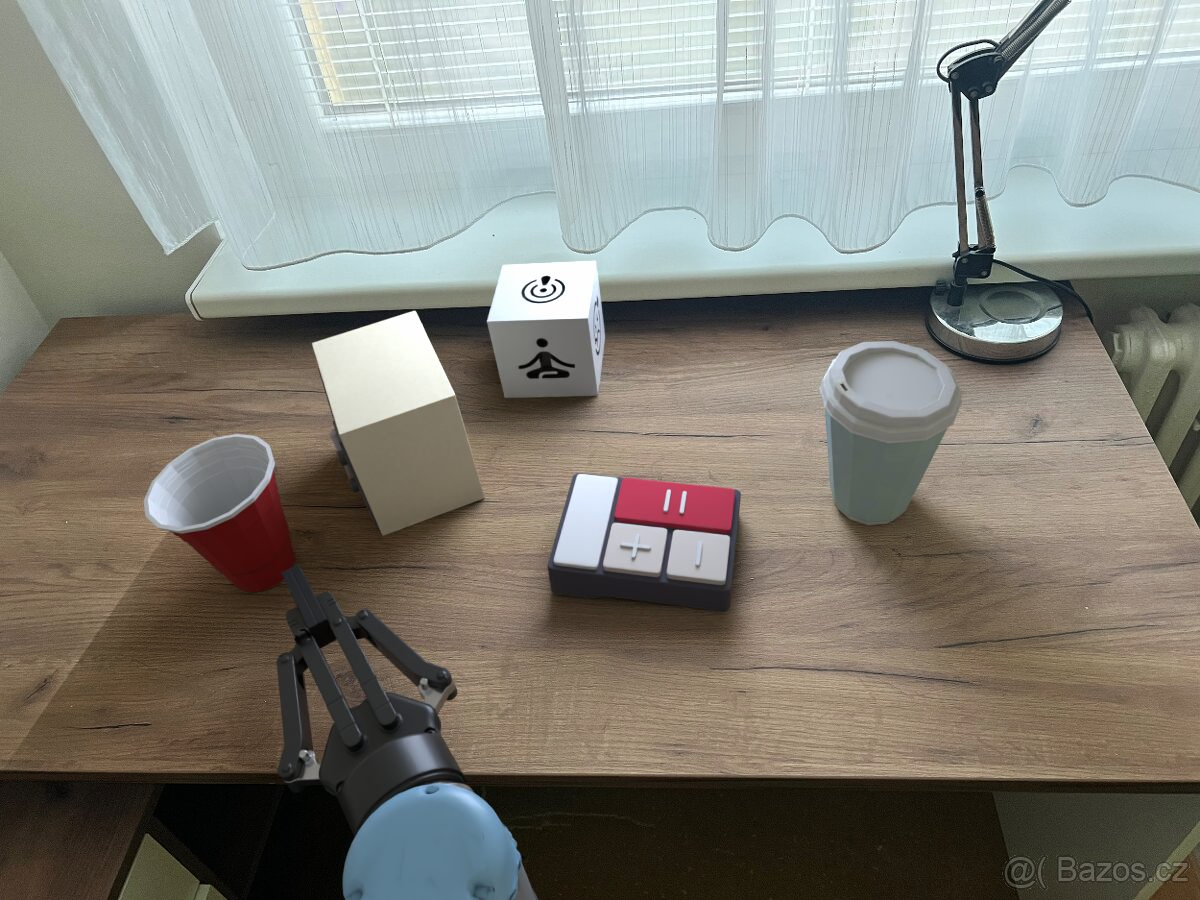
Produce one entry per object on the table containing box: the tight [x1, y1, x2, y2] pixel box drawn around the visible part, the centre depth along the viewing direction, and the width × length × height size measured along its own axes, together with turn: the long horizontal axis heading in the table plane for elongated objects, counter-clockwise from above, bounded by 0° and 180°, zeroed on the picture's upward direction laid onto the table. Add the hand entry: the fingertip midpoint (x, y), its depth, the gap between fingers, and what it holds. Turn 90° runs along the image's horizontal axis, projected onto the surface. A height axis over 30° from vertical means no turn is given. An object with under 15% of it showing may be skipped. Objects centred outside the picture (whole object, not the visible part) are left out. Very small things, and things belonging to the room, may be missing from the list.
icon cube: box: [486, 260, 606, 399], centre depth 92 cm, size 10×10×10 cm
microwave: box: [311, 310, 485, 537], centre depth 82 cm, size 11×14×13 cm
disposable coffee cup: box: [818, 340, 963, 526], centre depth 72 cm, size 11×11×15 cm
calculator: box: [547, 472, 742, 612], centre depth 75 cm, size 11×4×15 cm
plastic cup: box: [143, 433, 296, 593], centre depth 75 cm, size 11×11×12 cm
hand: (295, 579), depth 70 cm, fingers closed
